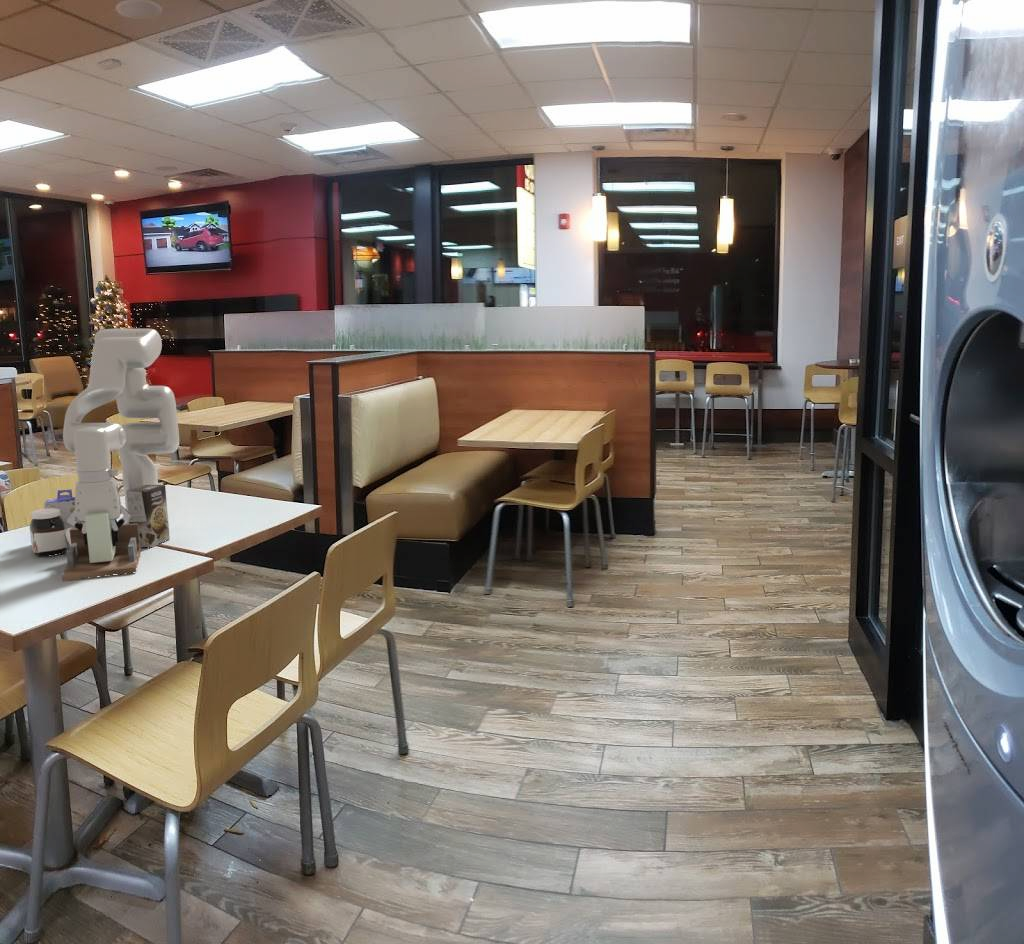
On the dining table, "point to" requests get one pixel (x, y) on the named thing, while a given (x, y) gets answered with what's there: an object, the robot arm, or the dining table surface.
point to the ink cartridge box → (63, 506)
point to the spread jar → (48, 532)
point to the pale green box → (99, 537)
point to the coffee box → (149, 513)
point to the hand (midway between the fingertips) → (102, 545)
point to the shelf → (120, 564)
